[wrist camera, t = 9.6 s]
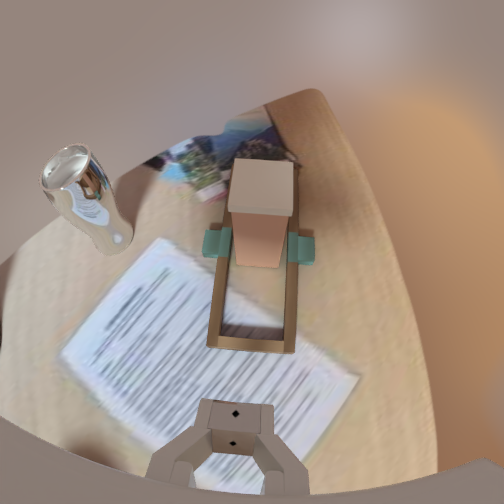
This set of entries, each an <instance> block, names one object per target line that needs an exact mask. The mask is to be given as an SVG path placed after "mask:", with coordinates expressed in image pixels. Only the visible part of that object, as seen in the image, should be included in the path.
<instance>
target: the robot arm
mask: <svg viewBox="0 0 504 504" xmlns="http://www.w3.org/2000/svg"><path fill="white" fill-rule="evenodd" d="M212 452H214V453H225V454H235V455H245V456H253V458H254V460H255V462H256V463H257V465H258V466H259V468H260V469H261V471H262V473H263V474H264V476H265V478H264V481H263V485H262V489H261V492H260V495H255V494H240V493H229V492H220V491H212V490H204V489H198V488H197V487H196V482H195V477H194V471H195V470H196V469H197V468H198V467H199V466H200V465H201V464H202V463H203V462H204V461H205V460H206V459H207V458H208V457H209V456H210V455H211V454H212ZM0 504H504V468H503V467H501V466H500V465H498V464H496V463H495V462H493V461H491V460H489V459H487V458H479V459H477V460H474V461H471V462H469V463H466V464H463V465H460V466H458V467H455V468H452V469H449V470H446V471H443V472H440V473H436V474H433V475H429V476H426V477H422V478H418V479H414V480H410V481H406V482H402V483H397V484H392V485H387V486H382V487H376V488H370V489H364V490H357V491H349V492H340V493H329V494H315V495H310V489H309V477H308V470H307V469H306V467H305V466H304V465H303V464H302V463H301V462H300V461H299V459H298V458H297V457H296V456H295V455H294V454H293V453H292V451H291V450H290V449H289V448H288V447H287V446H286V444H285V443H284V442H283V441H282V440H281V438H280V437H279V436H278V435H275V434H274V406H273V405H268V404H253V403H239V402H237V403H236V402H227V401H220V400H212V399H205V398H202V399H201V400H200V404H199V408H198V412H197V416H196V420H195V424H194V427H193V426H190V427H189V428H187V429H186V430H185V431H184V432H182V433H181V434H180V435H178V436H177V437H176V438H174V439H173V440H172V441H170V442H169V443H167V444H166V445H165V446H163V447H162V448H161V449H159V450H158V451H156V452H155V453H154V454H153V455H152V458H151V461H150V464H149V467H148V469H147V472H146V475H145V477H141V476H137V475H134V474H130V473H127V472H124V471H120V470H117V469H114V468H111V467H108V466H105V465H102V464H99V463H97V462H94V461H91V460H88V459H86V458H83V457H81V456H78V455H76V454H73V453H71V452H69V451H66V450H64V449H62V448H60V447H57V446H55V445H53V444H51V443H49V442H47V441H45V440H43V439H41V438H39V437H37V436H35V435H33V434H31V433H29V432H27V431H26V430H24V429H22V428H20V427H18V426H17V425H15V424H13V423H11V422H10V421H8V420H6V419H5V418H3V417H2V416H0Z"/></svg>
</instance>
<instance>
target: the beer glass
mask: <svg viewBox="0 0 504 504" xmlns="http://www.w3.org/2000/svg"><path fill="white" fill-rule="evenodd" d="M39 185H40V187H41V189H42V190H43V191H44V193H45V194H46V196H47V197H48V199H49V200H50V202H51V203H52V204H53V206H54V207H55V208H56V210H57V211H58V212H59V213H60V214H61V215H62V216H63V217H64V218H65V219H66V220H67V221H68V222H70V223H71V224H72V225H74V226H75V227H76V228H78V229H79V230H81V231H82V232H84V233H85V234H87V235H88V236H89V237H90V238H91V239H92V241H93V243H94V245H95V247H96V248H97V250H98V251H99V252H100V253H102V254H104V255H107V256H113V255H116V254H119V253H121V252H122V251H124V250H125V249H126V248H127V247H128V245H129V244H130V242H131V240H132V238H133V226H132V224H131V222H130V221H129V220H128V219H127V218H126V217H125V216H124V215H123V214H122V213H121V212H120V210H119V208H118V205H117V202H116V199H115V196H114V193H113V189H112V187H111V184H110V181H109V179H108V177H107V175H106V173H105V172H104V170H103V168H102V167H101V165H100V164H99V162H98V160H97V159H96V158H95V156H94V155H93V153H92V152H91V150H90V148H89V147H88V146H87V145H86V144H83V143H74V144H71V145H68V146H66V147H64V148H62V149H60V150H59V151H57V152H56V153H55V154H54V155H52V156H51V157H50V159H49V160H48V161H47V162H46V163H45V165H44V166H43V168H42V170H41V173H40V176H39Z"/></svg>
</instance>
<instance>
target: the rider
mask: <svg viewBox="0 0 504 504" xmlns="http://www.w3.org/2000/svg"><path fill="white" fill-rule="evenodd" d="M228 212H231V215H232V225H233V235H234V244H235V253H236V263H237V265H244V266H257V267H271V268H278V267H279V262H280V257H281V252H282V248H283V243H284V238H285V233H286V228H287V223H288V218H289V216H292V212H293V162H283V161H270V160H256V159H238V158H235V162H234V168H233V174H232V180H231V187H230V193H229V199H228Z"/></svg>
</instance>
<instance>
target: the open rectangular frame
mask: <svg viewBox="0 0 504 504" xmlns="http://www.w3.org/2000/svg"><path fill="white" fill-rule="evenodd" d="M233 168H234V164H232V169H231V175H230V181H229V187H228V193H227V199H226V206H225V212H224V218H223V225H222V231H221V230H206V231H205V236H204V242H203V248H202V253H203V256H204V257H211V258H218V259H217V266H216V273H215V281H214V288H213V296H212V303H211V311H210V319H209V327H208V335H207V344H206V346H207V347H209V348H218V349H228V350H239V351H250V352H263V353H279V354H293V353H295V335H296V313H297V283H298V264H303V265H312V264H313V262H314V260H315V245H314V237H301V236H298V169H293V212H292V216H289V218H288V233H287V263H286V287H285V308H284V327H283V341H275V340H260V339H247V338H236V337H225V336H220V334H221V325H222V316H223V308H224V299H225V291H226V282H227V274H228V266H229V258H230V250H231V242H232V234H233V225H232V215H231V212H228V199H229V193H230V187H231V180H232V174H233Z"/></svg>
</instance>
